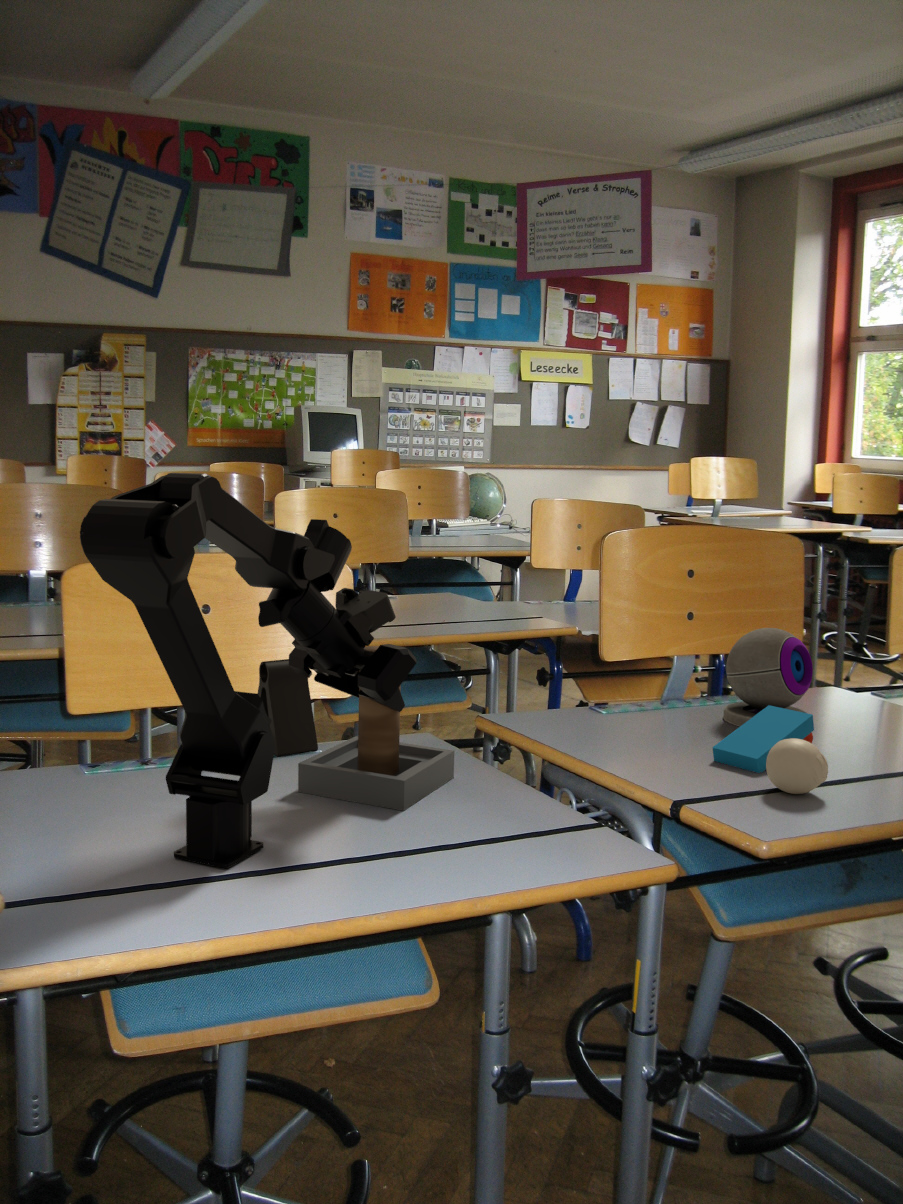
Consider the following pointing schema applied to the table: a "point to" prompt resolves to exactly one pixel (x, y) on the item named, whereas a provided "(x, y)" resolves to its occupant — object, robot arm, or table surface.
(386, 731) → the walnut peg
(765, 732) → the teal long block
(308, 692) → the door stopper
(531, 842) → the table surface
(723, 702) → the table surface
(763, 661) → the webcam
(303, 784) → the box
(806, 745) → the beige ball
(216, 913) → the table surface
